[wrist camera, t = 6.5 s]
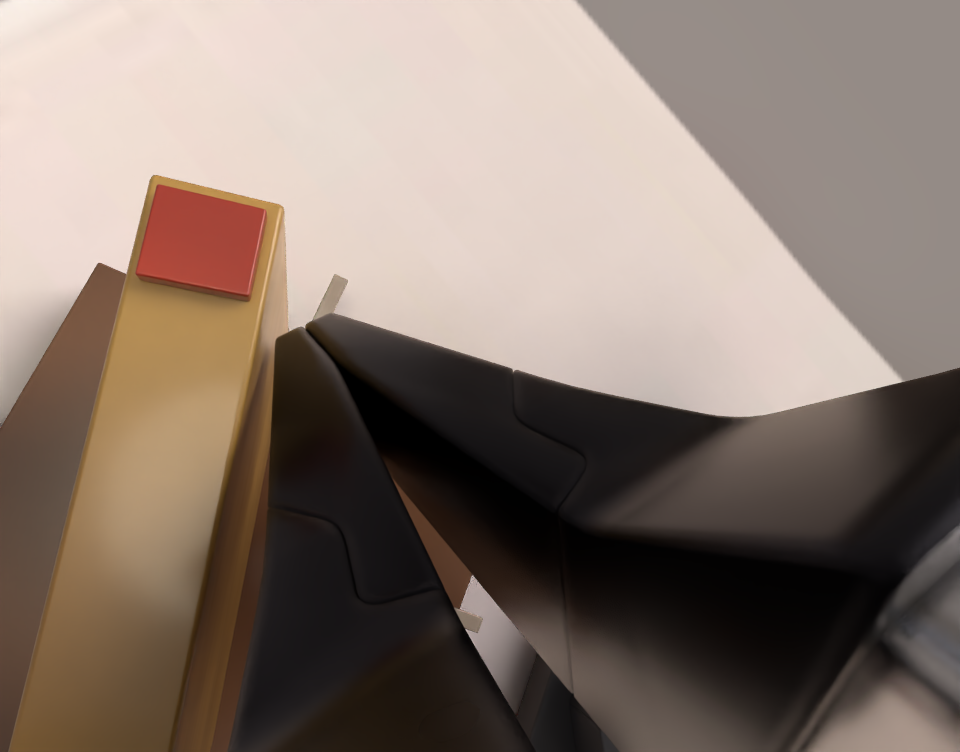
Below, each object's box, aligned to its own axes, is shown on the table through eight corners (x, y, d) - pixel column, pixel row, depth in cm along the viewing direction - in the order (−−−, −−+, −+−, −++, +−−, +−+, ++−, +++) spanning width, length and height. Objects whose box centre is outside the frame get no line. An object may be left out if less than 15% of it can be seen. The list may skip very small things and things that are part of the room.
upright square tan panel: (212, 745, 13) (80, 1196, 5) (141, 743, 13) (-123, 1228, 5) (289, 344, 15) (285, 194, 7) (228, 332, 15) (144, 160, 6)
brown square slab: (363, 863, 16) (373, 922, 14) (-220, 709, 13) (-314, 754, 11) (538, 393, 19) (568, 384, 17) (99, 188, 16) (71, 148, 14)
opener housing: (716, 904, 18) (793, 985, 15) (475, 835, 17) (513, 911, 14) (796, 573, 21) (876, 591, 18) (593, 484, 19) (645, 488, 16)
